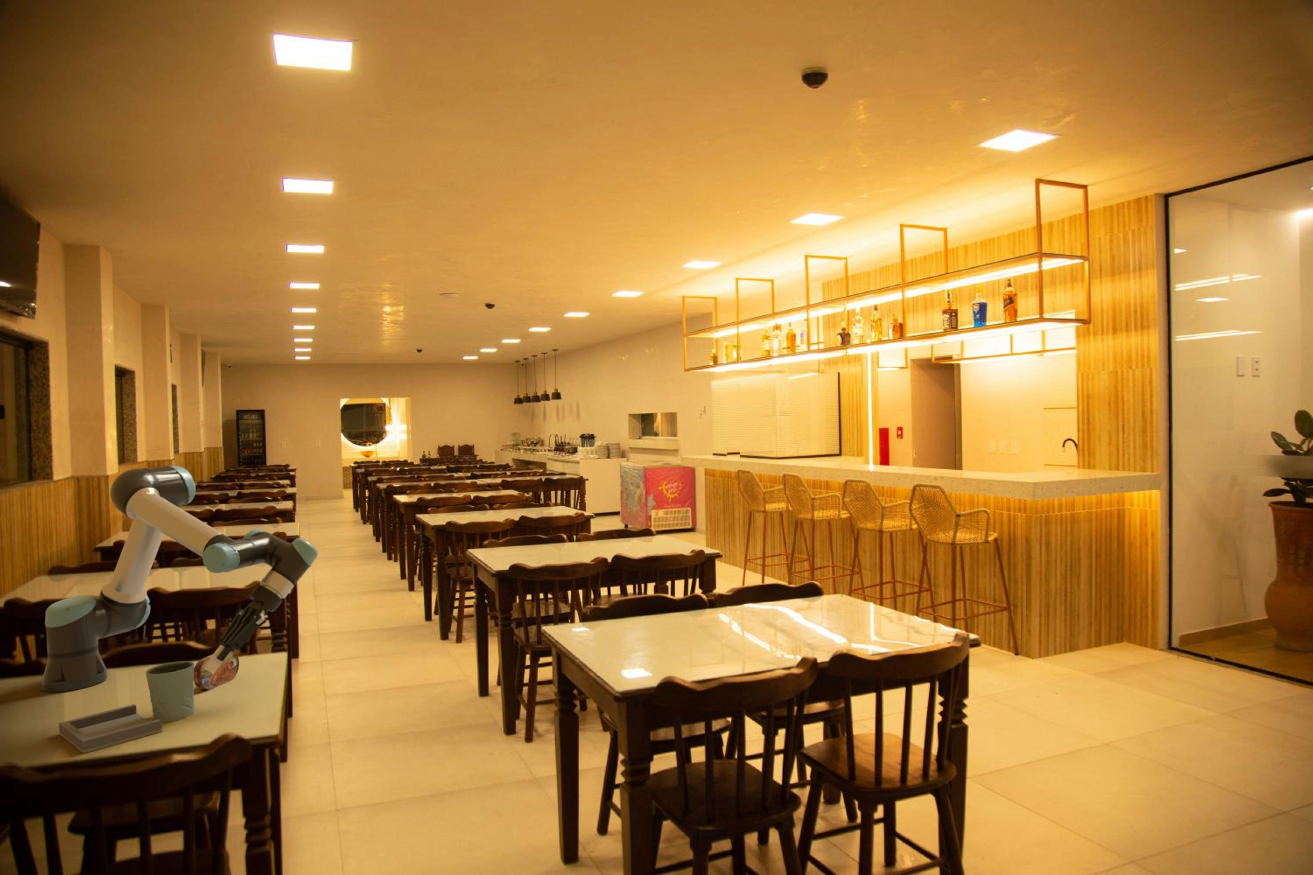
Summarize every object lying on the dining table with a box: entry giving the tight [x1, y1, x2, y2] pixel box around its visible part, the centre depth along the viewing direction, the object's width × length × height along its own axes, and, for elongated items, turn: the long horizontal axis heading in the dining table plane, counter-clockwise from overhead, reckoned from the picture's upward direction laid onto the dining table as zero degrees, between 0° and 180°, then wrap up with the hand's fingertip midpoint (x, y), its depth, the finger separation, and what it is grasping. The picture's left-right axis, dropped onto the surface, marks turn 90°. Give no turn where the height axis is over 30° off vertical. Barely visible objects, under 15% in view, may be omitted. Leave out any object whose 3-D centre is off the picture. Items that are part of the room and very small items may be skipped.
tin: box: [193, 650, 240, 690], centre depth 231 cm, size 15×3×8 cm, turn 168°
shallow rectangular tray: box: [58, 703, 163, 754], centre depth 197 cm, size 19×16×3 cm
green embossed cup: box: [145, 660, 195, 723], centre depth 206 cm, size 10×10×12 cm
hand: (207, 670), depth 212 cm, fingers closed
